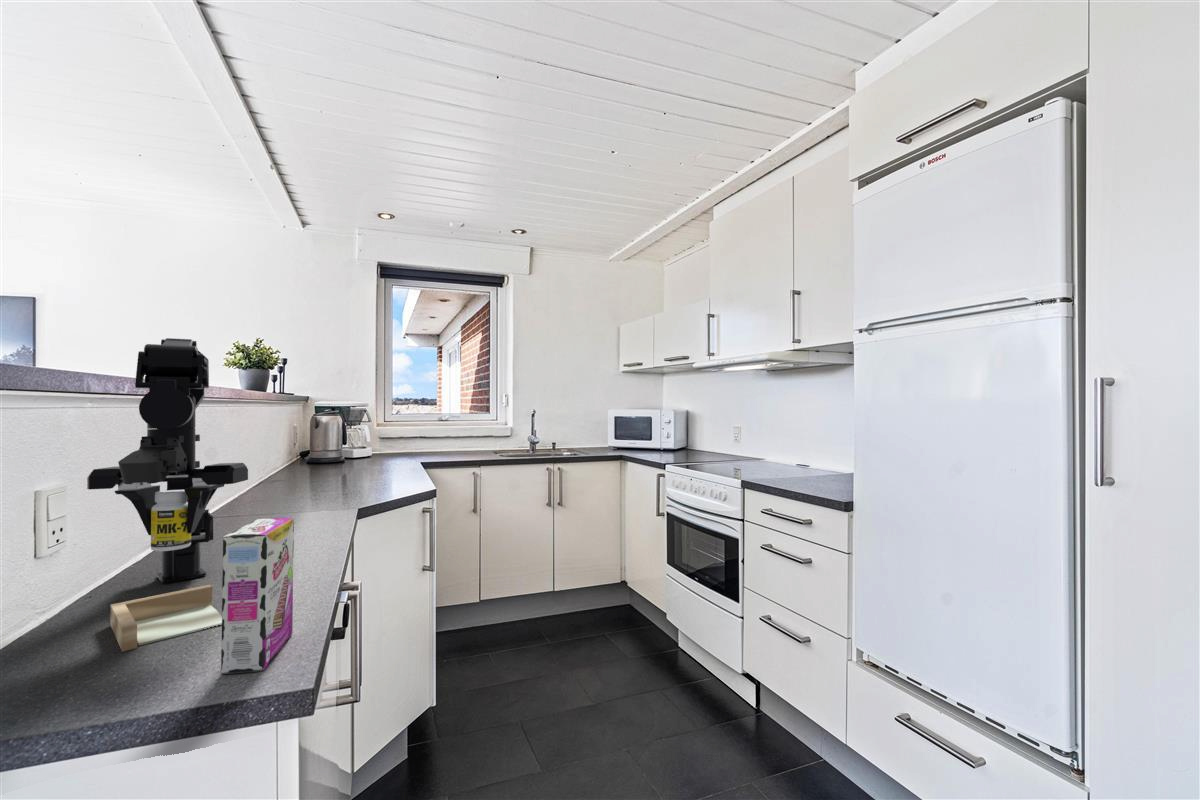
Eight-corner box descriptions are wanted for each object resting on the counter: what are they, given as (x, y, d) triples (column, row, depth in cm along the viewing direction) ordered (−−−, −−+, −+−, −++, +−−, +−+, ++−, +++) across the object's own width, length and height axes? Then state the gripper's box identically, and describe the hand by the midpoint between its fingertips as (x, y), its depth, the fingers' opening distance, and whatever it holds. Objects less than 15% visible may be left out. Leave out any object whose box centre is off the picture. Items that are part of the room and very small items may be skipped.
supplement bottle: (152, 553, 79) (152, 494, 79) (149, 548, 83) (149, 491, 83) (193, 547, 82) (193, 490, 83) (189, 542, 86) (189, 488, 86)
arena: (110, 625, 80) (110, 604, 80) (209, 603, 89) (209, 584, 89) (122, 651, 72) (122, 628, 72) (230, 624, 80) (230, 603, 80)
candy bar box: (266, 671, 66) (266, 534, 66) (219, 676, 65) (219, 536, 65) (295, 633, 77) (295, 515, 77) (255, 637, 76) (255, 517, 76)
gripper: (57, 431, 73) (56, 550, 73) (214, 428, 77) (214, 542, 76) (114, 429, 84) (113, 533, 84) (249, 426, 88) (249, 526, 87)
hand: (171, 533), depth 83 cm, fingers closed on supplement bottle, 5 cm apart
